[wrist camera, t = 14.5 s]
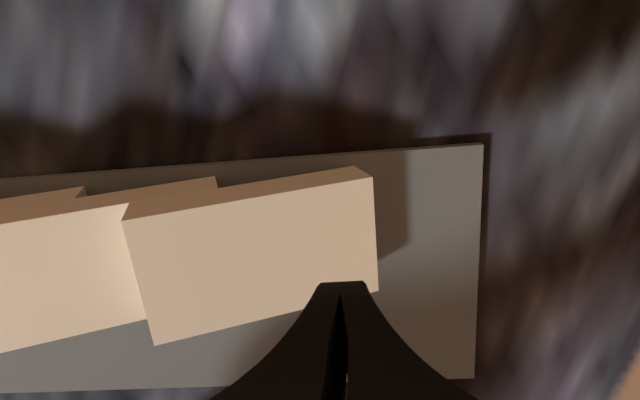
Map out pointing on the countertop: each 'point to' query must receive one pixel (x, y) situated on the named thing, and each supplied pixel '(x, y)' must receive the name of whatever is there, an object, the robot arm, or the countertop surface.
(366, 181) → the domino
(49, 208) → the domino
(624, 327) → the countertop surface
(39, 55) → the countertop surface
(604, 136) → the countertop surface
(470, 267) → the mat
